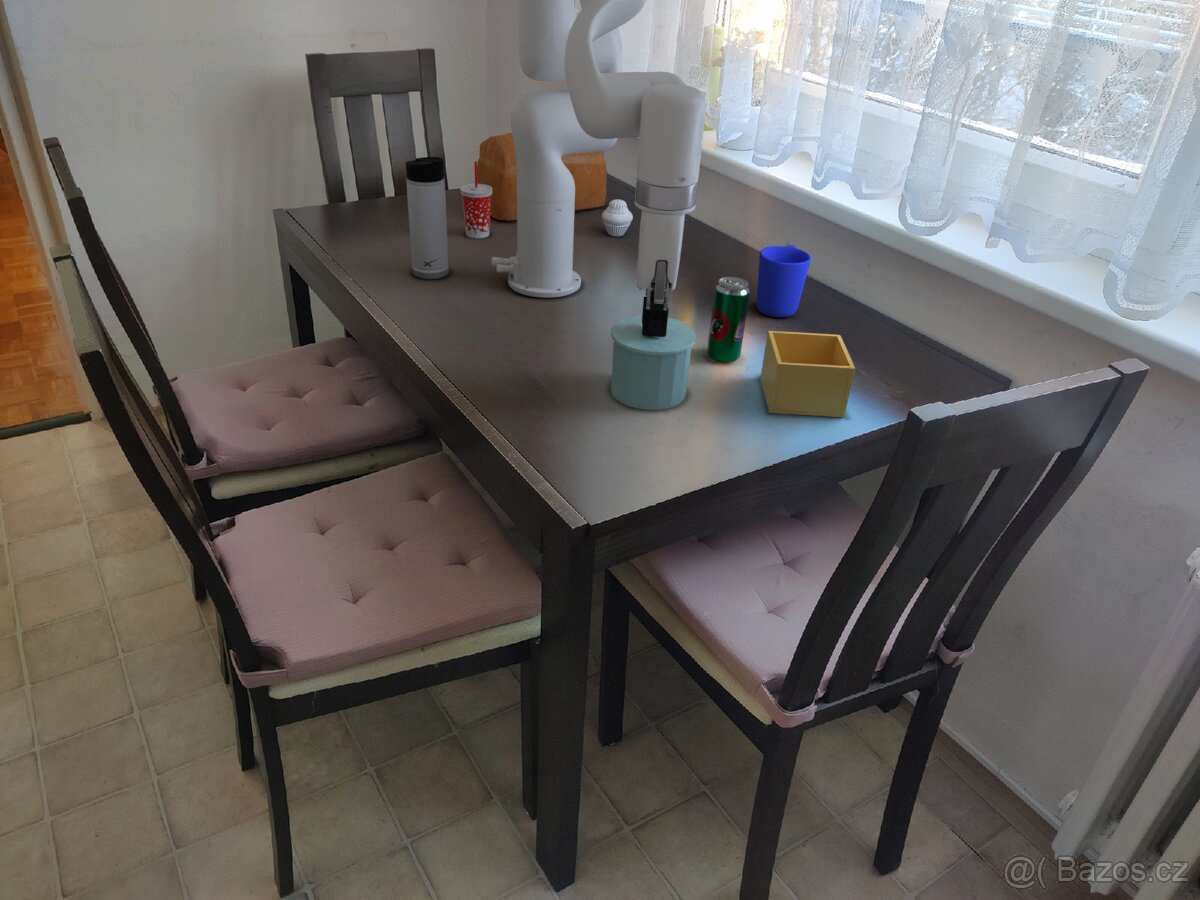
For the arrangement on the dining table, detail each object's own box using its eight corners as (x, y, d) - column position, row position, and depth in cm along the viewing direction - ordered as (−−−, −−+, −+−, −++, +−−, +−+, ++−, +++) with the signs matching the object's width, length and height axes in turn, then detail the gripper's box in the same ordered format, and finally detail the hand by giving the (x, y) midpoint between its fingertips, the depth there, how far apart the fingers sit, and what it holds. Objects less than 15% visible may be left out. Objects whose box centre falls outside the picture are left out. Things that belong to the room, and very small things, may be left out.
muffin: (597, 236, 176) (599, 201, 172) (604, 227, 181) (606, 192, 178) (628, 240, 175) (630, 205, 171) (634, 230, 180) (637, 196, 176)
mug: (807, 298, 155) (817, 243, 150) (796, 325, 146) (807, 267, 140) (760, 290, 157) (769, 235, 152) (747, 316, 148) (755, 258, 142)
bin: (769, 413, 121) (777, 363, 117) (760, 377, 130) (768, 330, 126) (844, 417, 121) (855, 368, 117) (830, 381, 130) (840, 334, 126)
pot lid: (609, 356, 115) (611, 316, 112) (611, 319, 125) (613, 282, 122) (697, 361, 115) (702, 322, 112) (692, 324, 125) (696, 287, 122)
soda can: (738, 366, 132) (750, 291, 126) (704, 362, 133) (714, 286, 126) (741, 352, 136) (752, 277, 130) (708, 347, 137) (717, 273, 131)
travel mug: (434, 283, 153) (427, 164, 142) (405, 273, 156) (396, 157, 145) (457, 272, 157) (453, 157, 146) (429, 263, 160) (422, 149, 149)
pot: (610, 407, 120) (613, 351, 116) (611, 371, 129) (615, 317, 124) (687, 412, 120) (693, 355, 116) (683, 375, 129) (689, 321, 124)
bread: (611, 208, 191) (615, 132, 183) (501, 225, 179) (501, 144, 170) (578, 190, 201) (580, 117, 192) (472, 205, 189) (469, 128, 180)
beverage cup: (497, 238, 173) (496, 165, 165) (466, 241, 171) (463, 167, 163) (488, 227, 177) (486, 156, 170) (458, 230, 175) (455, 158, 168)
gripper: (635, 173, 116) (626, 304, 126) (635, 212, 103) (625, 356, 113) (692, 176, 116) (679, 307, 126) (700, 216, 103) (684, 359, 113)
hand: (653, 329), depth 119 cm, fingers closed on pot lid, 2 cm apart
